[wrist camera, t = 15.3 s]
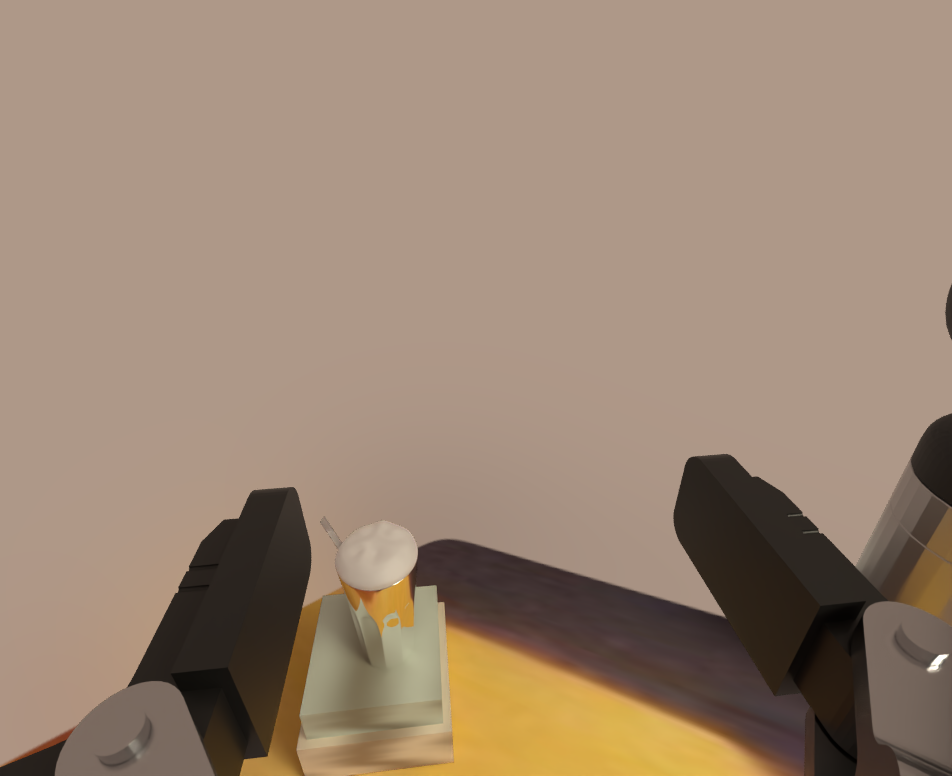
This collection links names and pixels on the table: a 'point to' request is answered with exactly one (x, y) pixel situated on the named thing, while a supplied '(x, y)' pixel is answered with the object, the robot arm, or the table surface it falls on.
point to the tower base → (382, 743)
